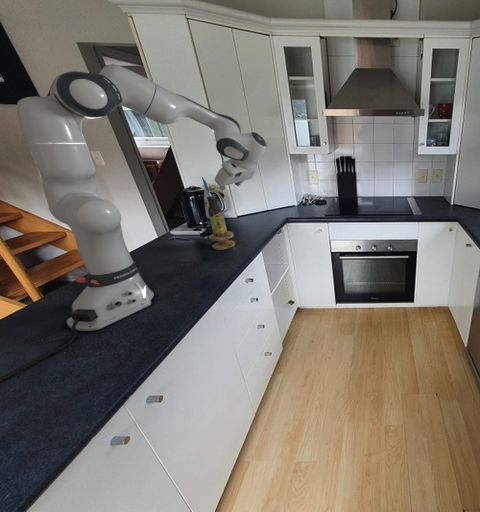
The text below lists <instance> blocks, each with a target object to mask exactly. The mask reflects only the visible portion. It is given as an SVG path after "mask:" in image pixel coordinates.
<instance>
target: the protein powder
mask: <svg viewBox="0 0 480 512" xmlns="http://www.w3.org/2000/svg"><path fill="white" fill-rule="evenodd" d="M201 179H202V183H203V186H204V190H203V191H204V194H203V202H204V208H205V209H204V210H205V216H206V222H207V228H208V233H209V234H210V235H211V234H213V230H212V226H211V222H210V218H209V214H208V209H209V203H208V200H207V196H213V195H212V194H211V192H210V189H209V187H208V183H207V181H206V180H205V178H204V177H203V176H201ZM226 228H227V226H226ZM227 229H228V228H227Z"/></svg>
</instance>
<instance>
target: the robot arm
mask: <svg viewBox="0 0 480 512" xmlns="http://www.w3.org/2000/svg"><path fill="white" fill-rule="evenodd" d="M118 106H119V107H123V108H126V109H129V110H131V111H132V112H135V113H137V114H139V115H141V116H143V117H145V118H146V119H149V120H151V121H152V122H155V123H158V124H161V125H171V124H174V123H177V122H178V121H179V120H180V119H181V118H189V119H191V120H192V121H195V122H198V123H199V124H201V125H204V126H205V127H208V129H210V130H211V131H212V133H213V135H214V136H213V137H214V144H215V149H216V151H217V152H218V154H219V155H221V156H223V157H225V158H227V159H228V160H226V161H223V162H222V163H221V165H220V166H221V167H220V169H219V170H218V171H217V173H216V175H215V177H214V182H215V183H216V184H217V185H218V188H219V190H220V191H225V190H226V188H227V187H226V186H230V185H233V184H234V185H235V186H236V187H240V186H241V185H242V184H243V183H244V182H245V181H248V180H251V179H253V178H254V176H255V174H256V172H257V167H258V163H259V162H260V161H261V160H262V158H263V157H264V155H265V153H266V151H267V147H268V146H267V143H266V140H265V139H264V138H263V137H262V135H260V134H259V133H258V132H255V131H251V132H248V133H242V130H241V129H242V128H241V125H240V123H239V122H238V121H237V120H236V119H234V118H233V117H231V116H229V115H227V114H226V115H225V114H221V113H218V112H216V111H213V110H211V109H210V108H207V107H206V106H204V105H203V104H200V103H198V102H196V101H194V100H192V99H190V98H188V97H186V96H184V95H181V94H178V93H174V92H172V91H170V90H168V89H166V88H164V87H163V86H161V85H159V84H157V83H156V82H154V81H152V80H151V79H149V78H147V77H145V76H143V75H141V74H139V73H137V72H135V71H133V70H130V69H129V68H126V67H124V66H122V65H119V64H115V63H111V64H110V63H109V64H107V65H105V66H104V67H102V68H101V70H100V71H99V73H90V72H85V71H67V72H64V73H61V74H58V75H56V76H55V78H54V79H53V81H52V83H51V85H50V87H49V90H48V92H47V95H46V96H35V95H33V96H27V97H23V98H21V99H19V100H18V101H17V103H16V112H17V117H18V121H19V127H20V130H21V132H22V135H23V137H24V139H25V143H26V145H27V147H28V150H29V153H30V154H31V156H32V158H33V159H32V160H33V161H34V163H35V166H36V169H37V170H38V174H39V176H40V180H41V184H42V189H43V193H44V196H45V199H46V203H47V206H48V211H49V212H50V214H51V215H52V216H53V217H54V219H55V220H57V221H58V222H61V224H62V223H63V224H65V225H67V227H69V229H70V230H71V232H72V235H73V237H74V241H75V244H76V248H77V249H76V250H77V253H78V255H79V257H80V259H81V260H82V262H83V264H84V266H85V268H86V270H87V276H82V275H79V276H76V278H75V282H76V283H78V284H79V283H80V284H86V286H85V288H83V290H82V291H81V293H80V294H79V295H78V296H77V297H76V299H75V300H73V302H72V304H71V311H72V312H70V313H69V316H70V317H69V318H68V319H67V320H66V324H67V326H68V327H69V328H70V330H71V333H72V336H71V338H70V339H69V340H68V341H67V342H66V343H65V344H62V345H61V346H59V347H57V348H55V349H52V350H50V351H49V352H46V353H44V354H43V355H42V356H40V357H38V358H36V359H34V360H32V361H30V362H28V363H26V364H24V365H23V366H21V367H19V368H17V369H15V370H13V371H11V372H9V373H8V374H6V375H4V376H2V377H0V383H2V382H4V381H5V380H7V379H8V378H10V377H12V376H14V375H16V374H18V373H20V372H22V371H25V370H26V369H28V368H29V367H32V366H34V365H35V364H37V363H39V362H42V361H43V360H44V359H46V358H48V357H50V356H51V355H53V354H55V353H57V352H59V351H61V350H62V349H64V348H65V347H67V346H68V345H70V344H71V343H72V342H74V341H75V340H76V338H77V337H78V331H81V332H91V331H98V330H101V329H103V328H105V327H107V326H109V325H111V324H114V323H116V322H117V321H120V320H122V319H124V318H126V317H128V316H130V315H133V314H135V313H137V312H139V311H141V310H143V309H145V308H147V307H149V306H151V305H152V299H154V295H155V293H154V291H152V290H151V289H150V288H149V287H148V285H147V283H146V282H145V281H144V279H143V277H142V275H141V273H140V270H139V268H138V265H137V263H136V261H134V260H133V258H132V256H131V254H130V252H129V249H128V247H127V245H126V242H125V239H124V235H123V229H122V224H121V221H122V213H121V212H120V209H118V207H117V206H116V205H115V204H114V203H112V202H111V201H110V200H109V199H106V198H105V197H102V196H99V194H98V191H97V183H96V174H97V170H96V167H95V164H94V161H93V158H92V155H91V153H90V149H89V147H88V144H87V142H86V139H85V137H84V134H83V130H82V123H83V121H84V120H85V119H86V120H87V119H100V118H104V117H106V116H108V115H110V114H111V113H113V111H115V109H116V108H117V107H118Z"/></svg>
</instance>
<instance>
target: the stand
mask: <svg viewBox="0 0 480 512" xmlns="http://www.w3.org/2000/svg"><path fill="white" fill-rule="evenodd" d="M234 236H235V234H234V232H233V231H230V230H227V234H226V235H224V236H219V237H217V236H214V233H213V234H211V233H210V234H209V236H208V239H209V241H211V242H215V243H213V244H212V246H211V247H212V249H213V250H214V251H215V250H216V251H225V250H229V249H232V248H234V246H236V241H234V240H231V239H232V238H233V237H234Z"/></svg>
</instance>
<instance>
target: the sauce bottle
mask: <svg viewBox="0 0 480 512" xmlns="http://www.w3.org/2000/svg"><path fill="white" fill-rule="evenodd" d="M207 200H208V203H209V209H208V214H209V218H210V222H211V226H212V230H213V233H214V236H217V237H219V236H224V235H226V234H227V231H228V228H226V227H227V225H226V224H227V223H226V220H225V217H224V212H223V211H222V209H221V207H220V206H219V204H218V198H217V195H212V196H207Z"/></svg>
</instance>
